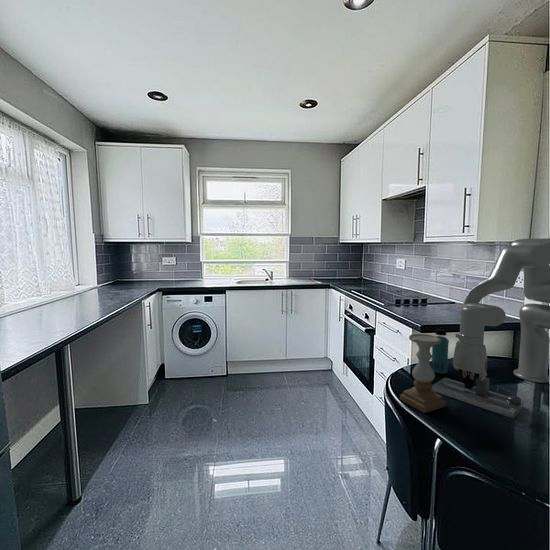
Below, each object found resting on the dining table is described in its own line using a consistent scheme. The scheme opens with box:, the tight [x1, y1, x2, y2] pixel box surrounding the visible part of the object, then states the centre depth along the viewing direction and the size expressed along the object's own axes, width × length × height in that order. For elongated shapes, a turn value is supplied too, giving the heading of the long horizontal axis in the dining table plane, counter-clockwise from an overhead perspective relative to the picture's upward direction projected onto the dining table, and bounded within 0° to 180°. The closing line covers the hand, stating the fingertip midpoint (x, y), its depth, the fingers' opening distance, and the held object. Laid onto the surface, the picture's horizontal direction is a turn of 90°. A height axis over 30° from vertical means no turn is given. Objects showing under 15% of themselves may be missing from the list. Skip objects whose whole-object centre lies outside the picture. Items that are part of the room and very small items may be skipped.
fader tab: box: [475, 376, 490, 397], centre depth 113 cm, size 4×3×6 cm
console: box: [431, 377, 524, 420], centre depth 115 cm, size 12×26×4 cm, turn 40°
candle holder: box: [399, 333, 447, 414], centre depth 111 cm, size 11×11×24 cm
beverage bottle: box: [430, 328, 450, 374], centre depth 136 cm, size 6×7×20 cm
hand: (468, 387), depth 116 cm, fingers closed
